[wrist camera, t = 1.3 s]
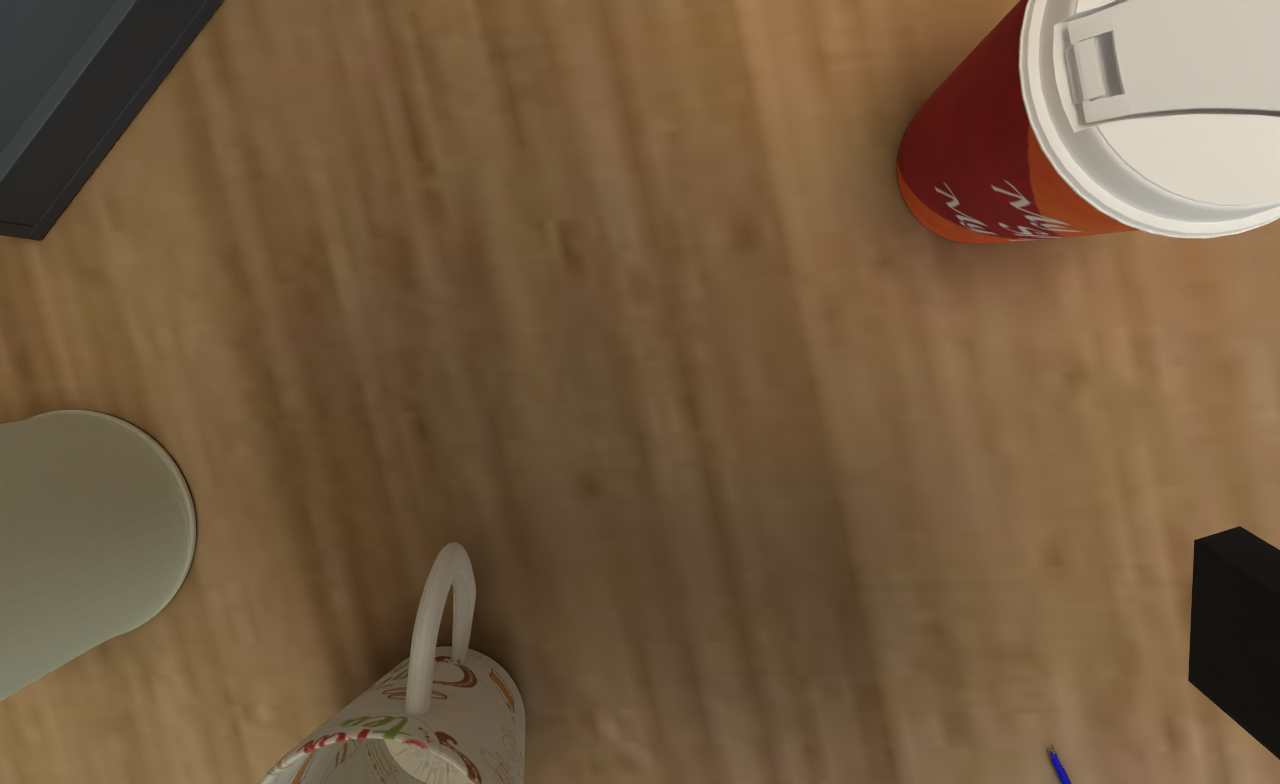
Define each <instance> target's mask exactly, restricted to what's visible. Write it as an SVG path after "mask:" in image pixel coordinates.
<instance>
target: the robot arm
mask: <svg viewBox="0 0 1280 784" xmlns="http://www.w3.org/2000/svg"><path fill="white" fill-rule="evenodd" d="M1188 681H1189V682H1190V683H1192V684H1193V685H1194V686H1195V687H1196V688H1197V689H1199V690H1200V691H1201V692H1202V693H1203V694H1204V695H1205V696H1207V697H1208V698H1209V699H1210V700H1211V701H1212V702H1214V703H1215V704H1216V705H1217V706H1218V707H1219V708H1220V709H1222V710H1223V711H1224V712H1225V713H1226V714H1227V715H1229V716H1230V717H1231V718H1232V719H1233V720H1234V721H1236V722H1237V723H1238V724H1239V725H1240V726H1241V727H1242V728H1244V729H1245V730H1246V731H1247V732H1248V733H1249V734H1251V735H1252V736H1253V737H1254V738H1255V739H1256V740H1258V741H1259V742H1260V743H1261V744H1262V745H1263V746H1264V747H1266V748H1267V749H1268V750H1269V751H1270V752H1271V753H1273V754H1274V755H1275V756H1276V757H1277V758H1278V759H1280V550H1278V549H1277V548H1275V547H1273V546H1272V545H1270V544H1268V543H1267V542H1265V541H1264V540H1262V539H1260V538H1259V537H1257V536H1255V535H1254V534H1252V533H1250V532H1249V531H1247V530H1245V529H1244V528H1242V527H1240V526H1239V527H1236V528H1233V529H1230V530H1226V531H1223V532H1220V533H1217V534H1213V535H1210V536H1207V537H1204V538H1200V539H1197V540H1194V562H1193V585H1192V608H1191V631H1190V655H1189V678H1188Z"/></svg>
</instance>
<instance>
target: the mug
mask: <svg viewBox="0 0 1280 784" xmlns="http://www.w3.org/2000/svg"><path fill="white" fill-rule="evenodd" d="M451 584H452V585H453V632H452V646H442V647H436V643H437V637H438V631H439V626H440V622H441V618H442V613H443V610H444V606H445V602H446V599H447V595H448V592H449V590H450V587H451ZM475 600H476V585H475V579H474V574H473V570H472V566H471V562H470V559H469V557H468V554H467V552H466V551H465V549H464V548H463V546H462V545H460V544H458V543H456V542H455V543H449V544H448V545H447V546H445V547H444V548H443V549H442V550H441V551H440V553H439V554H438V556H437V558H436V560H435V562H434V564H433V566H432V569H431V571H430V574H429V576H428V579H427V581H426V584H425V588H424V591H423V594H422V597H421V601H420V604H419V608H418V612H417V616H416V620H415V625H414V631H413V636H412V642H411V651H410V657H409V658H407V659H406V660H404V661H403V662H401V663H400V664H399V665H397V666H396V667H395V668H393V669H392V670H391V671H390V672H388V673H387V674H386V675H385V676H383V677H382V678H381V679H380V680H378V681H377V682H376V683H375V684H373V685H372V686H371V687H370V688H368V689H367V690H366V691H365V692H363V693H362V694H361V695H360V696H358V697H357V698H356V699H355V700H353V701H352V702H351V703H350V704H348V705H347V706H346V707H345V708H343V709H342V710H341V711H340V712H338V713H337V714H336V715H335V716H333V717H332V718H331V719H330V720H328V721H327V722H326V723H324V724H323V725H322V726H321V727H319V728H318V729H317V730H316V731H314V732H313V733H312V734H311V735H309V736H308V737H307V738H306V739H304V740H303V741H302V742H301V743H299V744H298V745H297V746H296V747H294V748H293V749H292V750H291V751H290V752H288V753H287V754H286V755H285V756H284V757H283V758H282V759H281V760H280V761H278V762H277V763H276V764H275V765H274V766H273V767H272V768H271V769H270V770H269V772H268V773H267V774H266V775H265V776H264V777H263V779H262V780H261V781H260V782H259V783H258V784H524V758H525V729H526V724H525V710H524V705H523V701H522V698H521V695H520V693H519V690H518V688H517V686H516V684H515V683H514V681H513V680H512V678H511V677H510V675H509V674H508V673H507V672H506V671H505V669H503V668H502V667H501V666H500V665H499V664H498V663H497V662H495V661H494V660H493V659H491V658H489V657H488V656H486V655H484V654H482V653H480V652H477V651H475V650H472V649H468V645H469V640H470V634H471V627H472V620H473V614H474V607H475Z"/></svg>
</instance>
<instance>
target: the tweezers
mask: <svg viewBox="0 0 1280 784" xmlns="http://www.w3.org/2000/svg"><path fill="white" fill-rule="evenodd" d="M1052 748H1053V747H1052ZM1053 750H1054V749H1053ZM1047 752H1048V751H1047ZM1054 752H1055V751H1054ZM1048 754H1049V753H1048ZM1051 754H1052V755H1051ZM1056 754H1057V753H1055V754H1053V753H1052V751H1051V753H1050V755H1051V757H1052V756H1053V757H1052V759H1053V758H1054V759H1053V760H1052V759H1051V760H1052V762H1053V765H1054V767H1055V769H1056V771H1057V773H1058V776H1059V778H1060V780H1061V782H1062V784H1071V782H1070V780H1069V778H1068V776H1067V774H1066V772H1065V770H1064V768H1062V767H1063V766H1061V765H1062V764H1060V763H1061V762H1059V759H1058V757H1057V756H1058V755H1056ZM1050 755H1049V756H1050ZM1051 757H1050V758H1051ZM1069 771H1070V770H1069Z"/></svg>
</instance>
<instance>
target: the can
mask: <svg viewBox="0 0 1280 784" xmlns="http://www.w3.org/2000/svg"><path fill="white" fill-rule="evenodd" d="M195 542H196V519H195V511H194V506H193V501H192V498H191V495H190V492H189V489H188V487H187V484H186V482H185V480H184V478H183V476H182V474H181V472H180V470H179V469H178V467H177V466H176V464H175V462H174V461H173V460H172V458H171V457H170V456H169V455H168V454H167V452H166V451H165V450H164V449H163V448H162V447H161V446H160V445H159V444H158V443H157V442H156V441H155V440H154V439H152V438H151V437H150V436H149V435H147V434H146V433H145V432H143V431H142V430H140V429H138V428H137V427H135V426H133V425H131V424H130V423H128V422H126V421H123V420H121V419H119V418H116V417H114V416H110V415H107V414H104V413H99V412H94V411H87V410H60V411H52V412H48V413H44V414H40V415H37V416H34V417H31V418H28V419H26V420H20V421H15V422H9V423H3V424H0V701H2V700H4V699H6V698H7V697H9V696H11V695H12V694H14V693H16V692H17V691H19V690H21V689H23V688H24V687H26V686H28V685H29V684H31V683H33V682H34V681H36V680H38V679H40V678H41V677H43V676H45V675H47V674H48V673H50V672H52V671H54V670H55V669H57V668H59V667H60V666H62V665H64V664H66V663H67V662H69V661H71V660H73V659H74V658H76V657H78V656H80V655H81V654H83V653H85V652H87V651H88V650H90V649H92V648H94V647H96V646H97V645H99V644H101V643H103V642H105V641H106V640H108V639H110V638H112V637H115V636H118V635H121V634H124V633H126V632H129V631H131V630H133V629H135V628H137V627H139V626H141V625H143V624H144V623H146V622H147V621H149V620H150V619H151V618H153V617H154V616H155V615H157V614H158V613H159V612H160V611H161V610H162V609H163V608H164V607H165V606H166V605H167V604H168V603H169V602H170V601H171V600H172V598H173V597H174V596H175V594H176V593H177V591H178V590H179V588H180V587H181V585H182V583H183V581H184V579H185V577H186V575H187V573H188V570H189V568H190V565H191V561H192V558H193V554H194V549H195Z"/></svg>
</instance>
